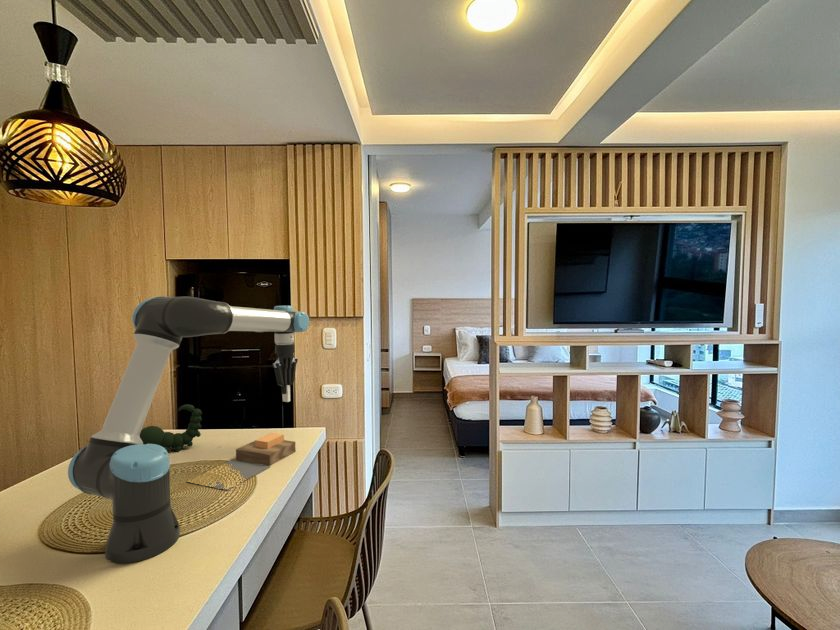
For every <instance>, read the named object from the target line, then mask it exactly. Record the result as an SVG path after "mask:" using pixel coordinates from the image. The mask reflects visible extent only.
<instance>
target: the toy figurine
mask: <svg viewBox="0 0 840 630" xmlns="http://www.w3.org/2000/svg"><path fill="white" fill-rule="evenodd" d="M183 410H186V411H188V412H191V416H190V418H189V421H190V422H189V423H188V427H187V428H186V429H185V431H184V432H181V433H180V432H178V433H173V432H171V431H164V430H163V429H162V428H161V427H160V426H157V425H149V426H146V427H142V430H141V432H140V435H139V436H140V438H141V440H142V442H143V444H156V445H160V446H162V447H164V448H165V449H166V450H167V452H169V451H170V450H171V449H173V450H175V451H176V452H181V450H182V448H183V447H184V446H186V445H187V447H192V446H193V439H194V438H196V437H197V438H200V437H201V432H200V431H199V429H201V428H202V424H201V421H202V420H203V419H202V414H203V412H202V410H201V409H200V408H195V406H194V405H192V404H187V403H186V404H183V405H181V406H179V408H178V409H177V412H180V411H183Z"/></svg>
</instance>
